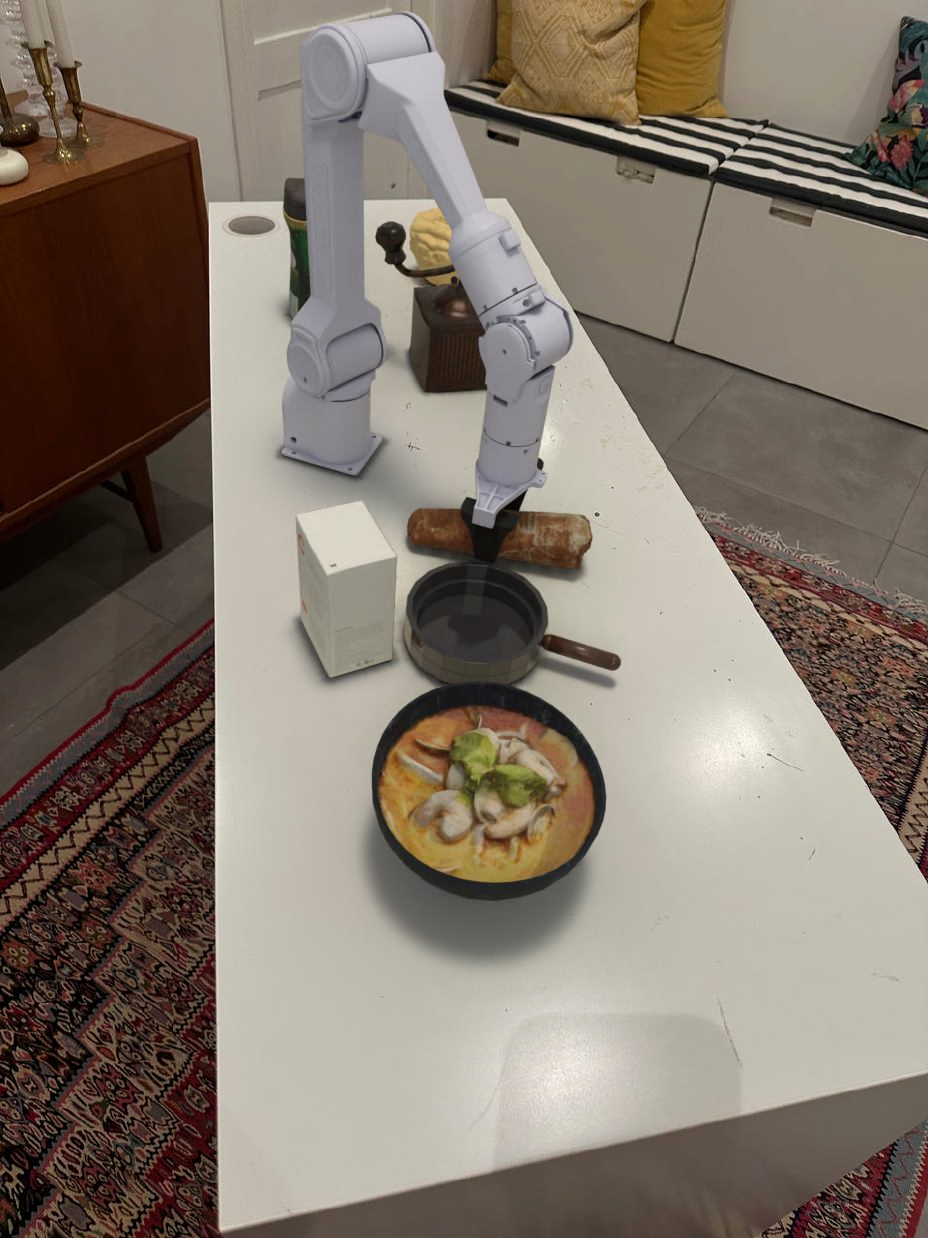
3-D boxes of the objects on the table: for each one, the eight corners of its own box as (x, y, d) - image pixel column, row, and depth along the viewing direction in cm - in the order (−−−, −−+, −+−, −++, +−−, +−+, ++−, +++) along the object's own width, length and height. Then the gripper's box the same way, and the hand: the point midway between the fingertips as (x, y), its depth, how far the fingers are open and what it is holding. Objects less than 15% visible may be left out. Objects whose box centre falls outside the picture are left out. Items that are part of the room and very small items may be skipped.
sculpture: (396, 279, 133) (399, 207, 125) (442, 255, 140) (447, 185, 132) (457, 305, 129) (464, 232, 121) (501, 279, 136) (510, 208, 129)
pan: (383, 665, 80) (384, 636, 77) (432, 575, 89) (435, 546, 86) (519, 710, 78) (526, 681, 75) (556, 612, 87) (563, 584, 84)
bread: (583, 582, 90) (593, 542, 86) (402, 554, 90) (404, 513, 86) (584, 542, 94) (595, 502, 90) (412, 516, 95) (414, 475, 91)
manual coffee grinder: (479, 346, 122) (495, 214, 109) (501, 389, 114) (520, 254, 101) (370, 351, 118) (372, 215, 105) (385, 395, 111) (389, 256, 98)
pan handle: (537, 651, 80) (540, 640, 79) (542, 639, 82) (544, 628, 80) (617, 676, 79) (620, 665, 78) (620, 664, 80) (624, 652, 79)
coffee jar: (351, 301, 127) (351, 166, 114) (363, 328, 122) (364, 190, 108) (284, 305, 124) (276, 167, 111) (294, 332, 119) (286, 192, 106)
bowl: (417, 978, 61) (426, 915, 53) (340, 780, 71) (339, 706, 64) (624, 895, 66) (657, 828, 59) (525, 724, 77) (543, 649, 70)
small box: (393, 660, 80) (399, 556, 71) (328, 680, 78) (325, 575, 69) (361, 602, 85) (363, 497, 76) (299, 618, 83) (292, 513, 74)
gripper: (532, 483, 76) (512, 593, 86) (571, 401, 86) (549, 508, 95) (456, 462, 77) (445, 573, 87) (504, 383, 87) (488, 490, 97)
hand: (495, 538), depth 91 cm, fingers open, 7 cm apart
